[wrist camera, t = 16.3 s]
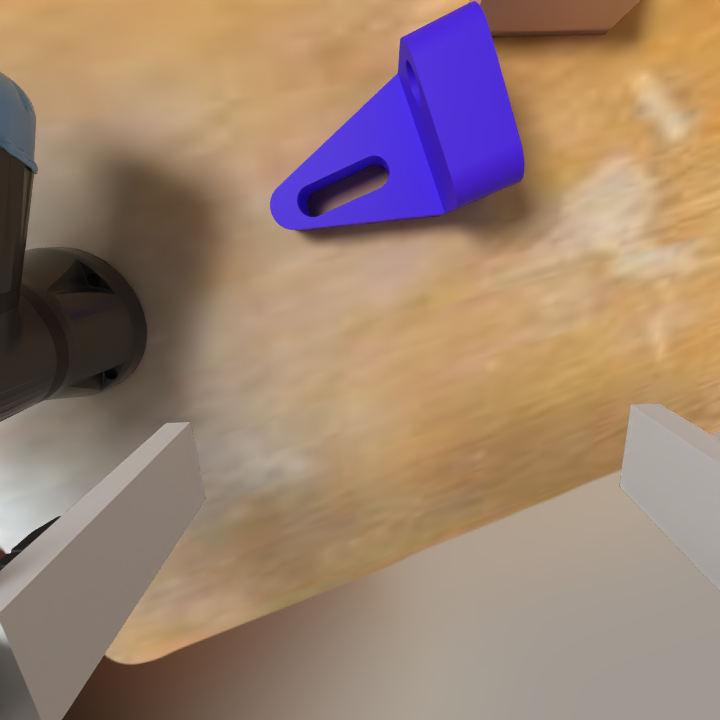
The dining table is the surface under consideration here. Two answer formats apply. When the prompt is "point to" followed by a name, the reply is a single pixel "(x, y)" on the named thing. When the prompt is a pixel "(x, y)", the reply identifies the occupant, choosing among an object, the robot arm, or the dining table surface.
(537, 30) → the planter
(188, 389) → the dining table surface
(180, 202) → the dining table surface
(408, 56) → the bracket
